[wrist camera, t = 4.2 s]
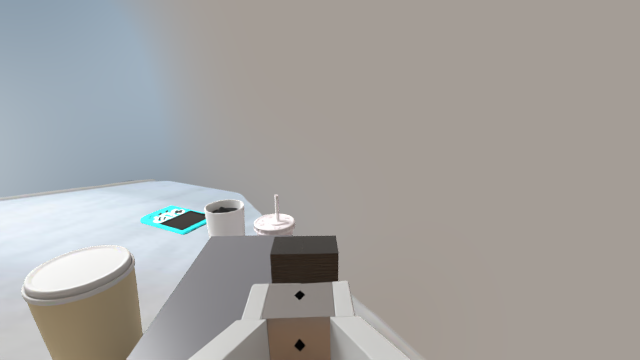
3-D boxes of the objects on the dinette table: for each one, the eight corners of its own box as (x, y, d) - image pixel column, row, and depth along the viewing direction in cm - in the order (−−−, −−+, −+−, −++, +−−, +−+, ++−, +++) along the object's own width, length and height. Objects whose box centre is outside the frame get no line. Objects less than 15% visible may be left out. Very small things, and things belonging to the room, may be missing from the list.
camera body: (285, 511, 22) (277, 385, 19) (140, 516, 22) (105, 389, 18) (298, 307, 43) (296, 229, 39) (224, 308, 42) (215, 230, 39)
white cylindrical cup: (202, 263, 53) (195, 211, 51) (224, 245, 60) (219, 198, 57) (235, 270, 52) (230, 215, 49) (254, 250, 58) (251, 201, 55)
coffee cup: (163, 324, 40) (148, 241, 36) (126, 392, 31) (101, 291, 27) (88, 329, 39) (65, 245, 36) (27, 400, 30) (-11, 297, 27)
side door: (335, 501, 22) (338, 253, 16) (284, 503, 22) (270, 254, 16) (328, 375, 31) (328, 192, 26) (293, 376, 31) (286, 192, 26)
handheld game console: (173, 209, 80) (172, 204, 80) (218, 220, 73) (218, 214, 73) (136, 223, 71) (135, 218, 71) (184, 237, 64) (183, 231, 64)
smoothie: (288, 290, 46) (285, 204, 42) (250, 283, 48) (243, 200, 44) (301, 267, 52) (299, 190, 48) (267, 262, 54) (262, 187, 50)
